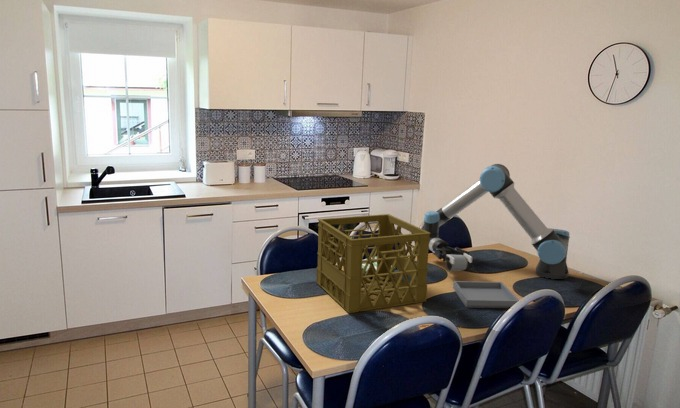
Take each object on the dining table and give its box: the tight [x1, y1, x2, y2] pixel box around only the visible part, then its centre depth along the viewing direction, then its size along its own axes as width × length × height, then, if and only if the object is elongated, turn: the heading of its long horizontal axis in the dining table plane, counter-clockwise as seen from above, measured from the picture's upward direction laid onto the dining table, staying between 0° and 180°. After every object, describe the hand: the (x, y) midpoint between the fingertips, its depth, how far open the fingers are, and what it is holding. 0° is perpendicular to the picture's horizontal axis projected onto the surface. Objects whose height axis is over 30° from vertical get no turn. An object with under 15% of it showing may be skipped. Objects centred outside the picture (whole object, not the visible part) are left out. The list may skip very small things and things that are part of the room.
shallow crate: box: [452, 280, 520, 309], centre depth 219 cm, size 22×22×3 cm
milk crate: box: [316, 213, 431, 314], centre depth 218 cm, size 36×35×30 cm
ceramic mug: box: [445, 254, 469, 272], centre depth 239 cm, size 11×8×8 cm
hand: (462, 260), depth 233 cm, fingers closed on ceramic mug, 8 cm apart
